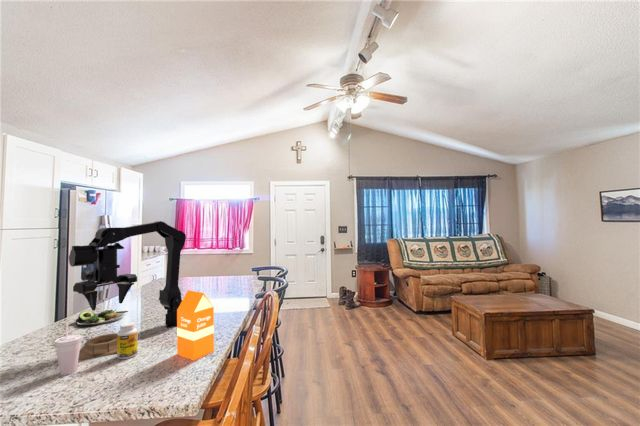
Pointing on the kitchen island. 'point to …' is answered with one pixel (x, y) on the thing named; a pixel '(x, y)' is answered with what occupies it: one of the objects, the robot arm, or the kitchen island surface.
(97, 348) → the caddy
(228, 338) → the kitchen island surface
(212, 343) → the orange juice
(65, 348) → the smoothie
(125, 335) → the supplement bottle
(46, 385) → the kitchen island surface
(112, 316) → the salad plate
